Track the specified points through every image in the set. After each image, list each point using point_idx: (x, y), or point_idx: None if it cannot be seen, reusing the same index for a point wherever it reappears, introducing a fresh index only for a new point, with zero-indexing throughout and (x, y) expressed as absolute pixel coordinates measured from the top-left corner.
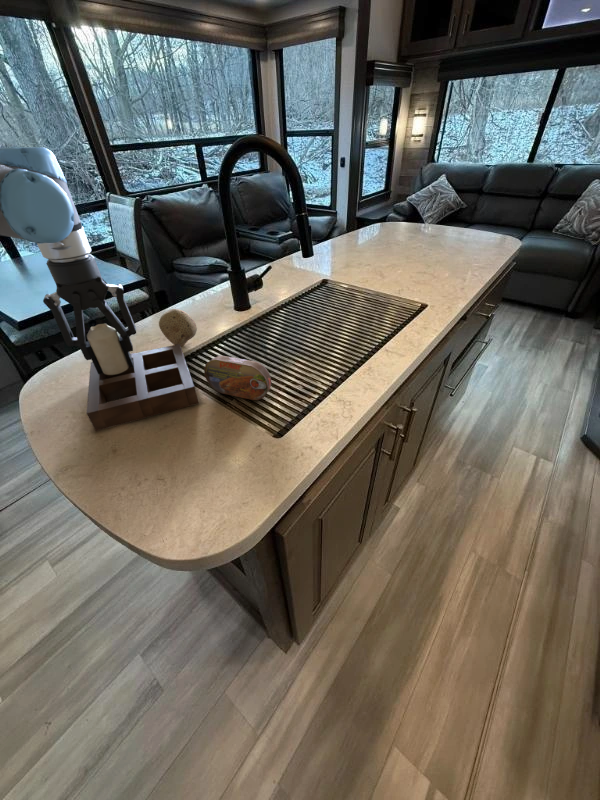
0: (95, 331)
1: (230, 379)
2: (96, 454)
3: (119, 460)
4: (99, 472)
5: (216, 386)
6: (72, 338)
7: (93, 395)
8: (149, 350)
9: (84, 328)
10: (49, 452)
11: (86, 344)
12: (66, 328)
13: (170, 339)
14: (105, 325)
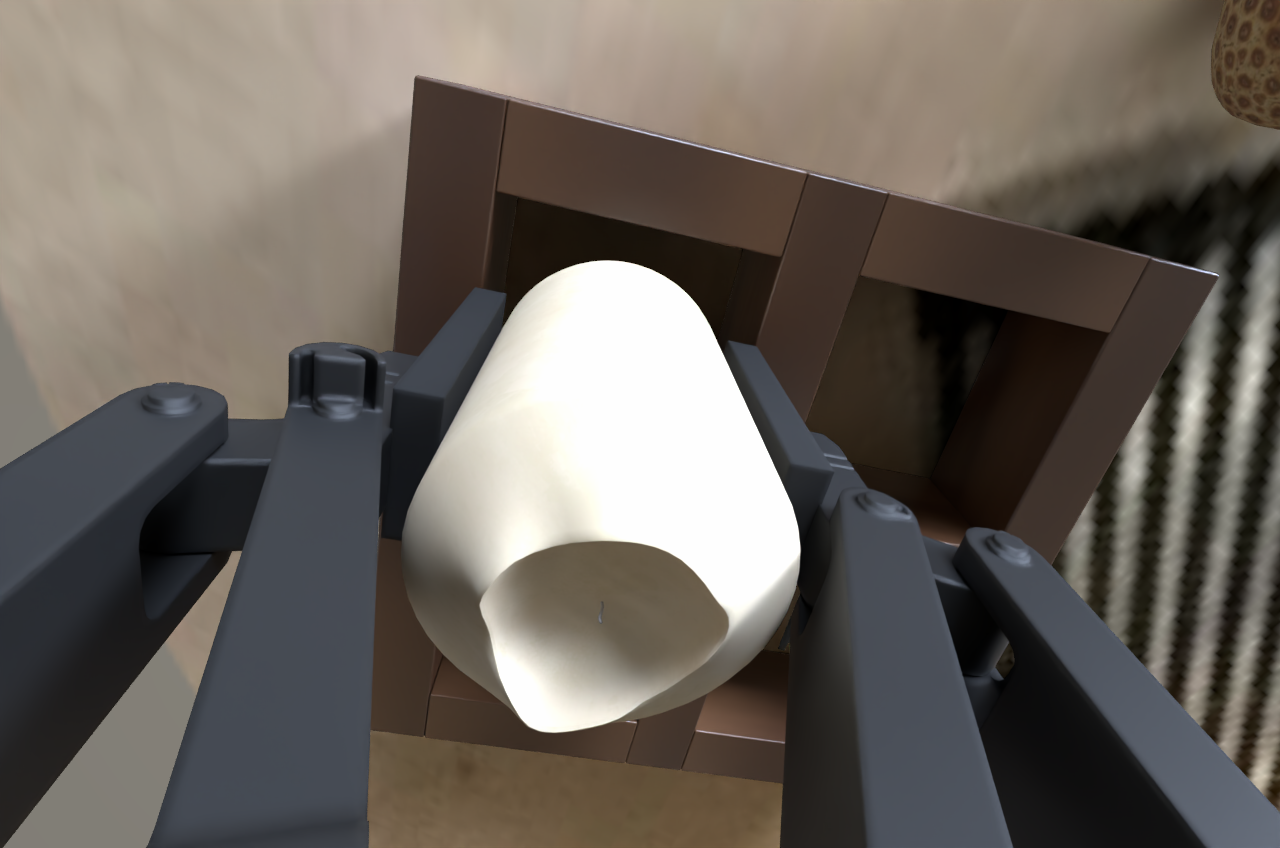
0: (529, 720)
1: None
2: (396, 752)
3: (474, 812)
4: (402, 825)
5: None
6: (200, 500)
7: (408, 605)
8: (957, 217)
9: (378, 518)
10: (203, 654)
11: (390, 468)
12: (66, 757)
13: (1246, 65)
14: (706, 595)
